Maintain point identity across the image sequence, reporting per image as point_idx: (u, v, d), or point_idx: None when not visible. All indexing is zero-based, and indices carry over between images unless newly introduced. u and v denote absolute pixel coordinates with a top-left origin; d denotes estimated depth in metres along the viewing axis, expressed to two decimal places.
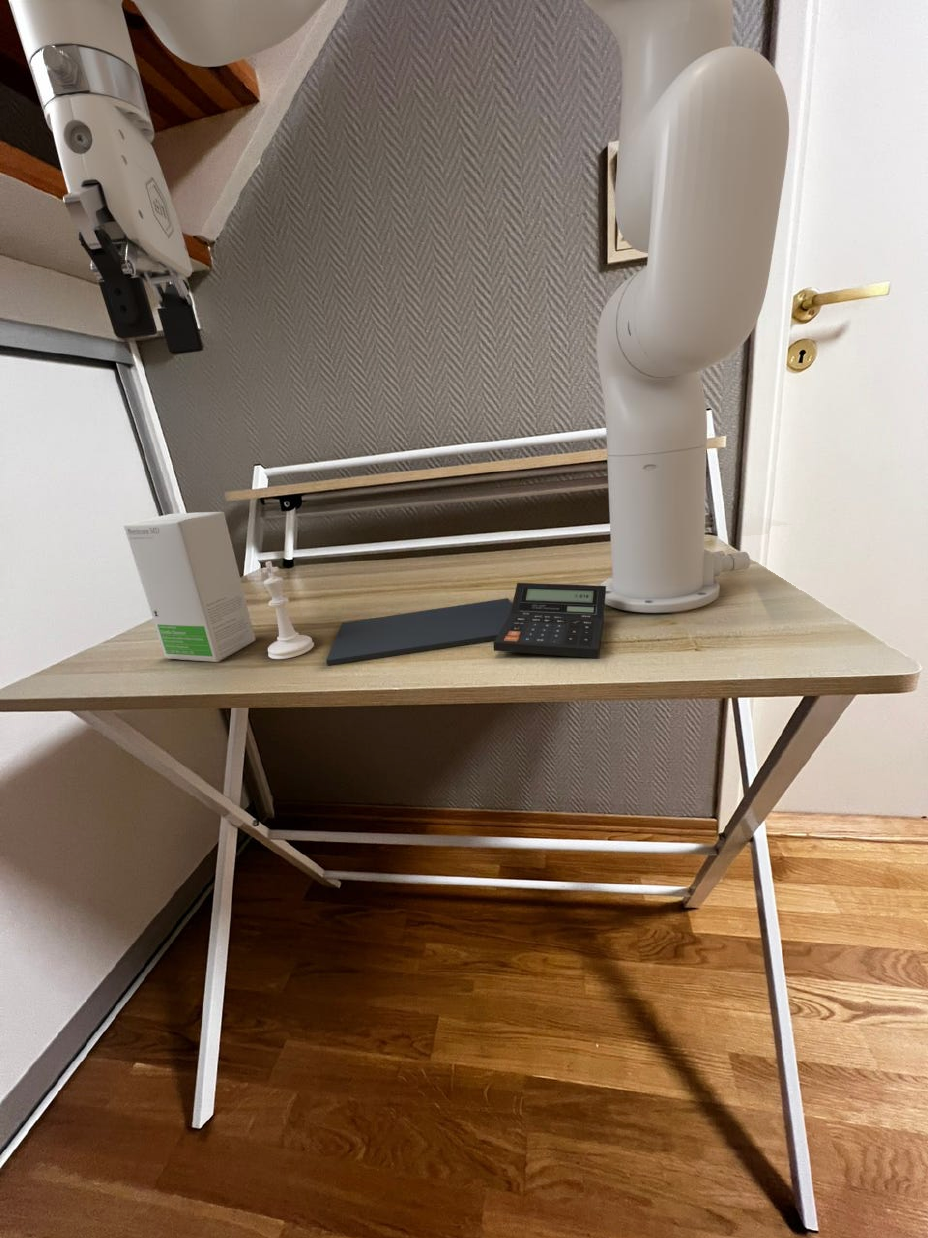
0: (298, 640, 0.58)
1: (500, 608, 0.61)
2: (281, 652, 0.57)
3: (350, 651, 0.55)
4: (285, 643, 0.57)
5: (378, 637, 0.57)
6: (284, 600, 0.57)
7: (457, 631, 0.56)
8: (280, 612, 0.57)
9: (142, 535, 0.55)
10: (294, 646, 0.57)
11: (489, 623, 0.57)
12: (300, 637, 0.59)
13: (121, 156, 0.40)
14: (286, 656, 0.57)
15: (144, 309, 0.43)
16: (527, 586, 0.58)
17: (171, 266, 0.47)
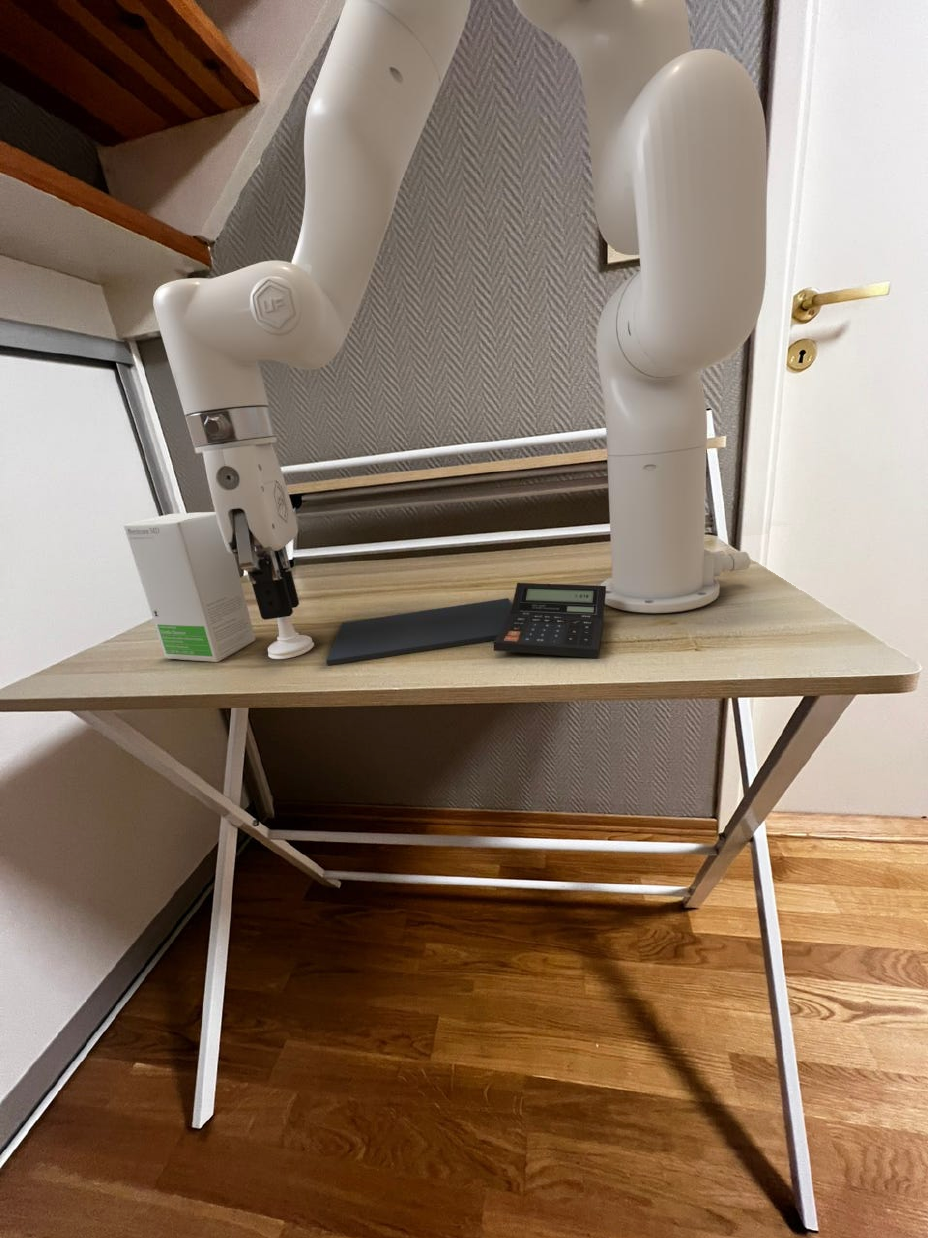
0: (298, 640, 0.58)
1: (500, 608, 0.61)
2: (281, 652, 0.57)
3: (350, 651, 0.55)
4: (285, 643, 0.57)
5: (378, 637, 0.57)
6: None
7: (457, 631, 0.56)
8: None
9: (142, 535, 0.55)
10: (294, 646, 0.57)
11: (489, 623, 0.57)
12: (300, 637, 0.59)
13: (260, 487, 0.49)
14: (286, 656, 0.57)
15: (285, 600, 0.55)
16: (527, 586, 0.58)
17: (287, 543, 0.55)
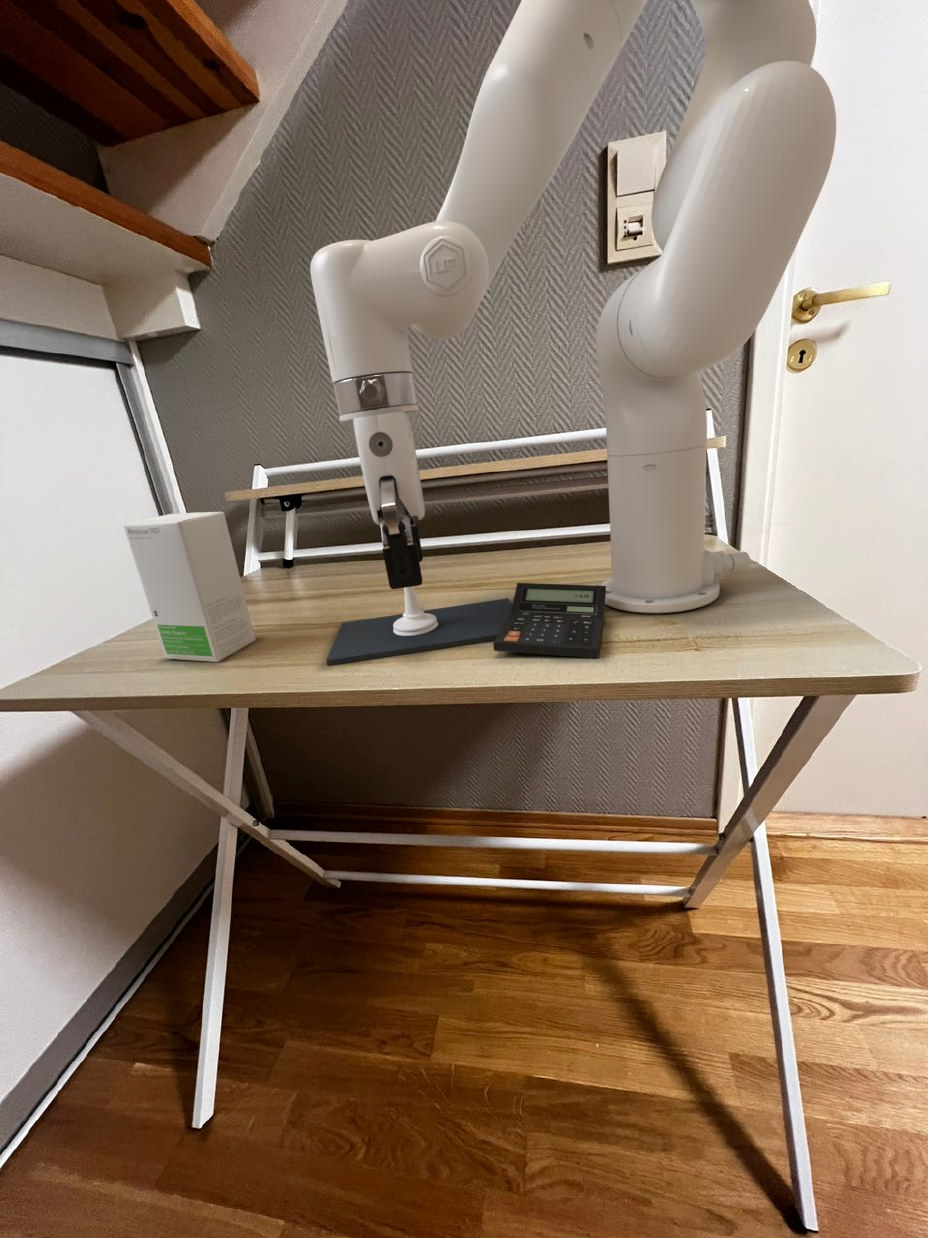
0: (425, 618, 0.58)
1: (500, 608, 0.61)
2: (411, 629, 0.56)
3: (350, 651, 0.55)
4: (413, 620, 0.57)
5: (378, 637, 0.57)
6: None
7: (457, 631, 0.56)
8: (409, 589, 0.57)
9: (142, 535, 0.55)
10: (423, 622, 0.57)
11: (489, 623, 0.57)
12: (425, 614, 0.58)
13: (411, 454, 0.48)
14: (416, 633, 0.56)
15: (416, 567, 0.51)
16: (527, 586, 0.58)
17: None
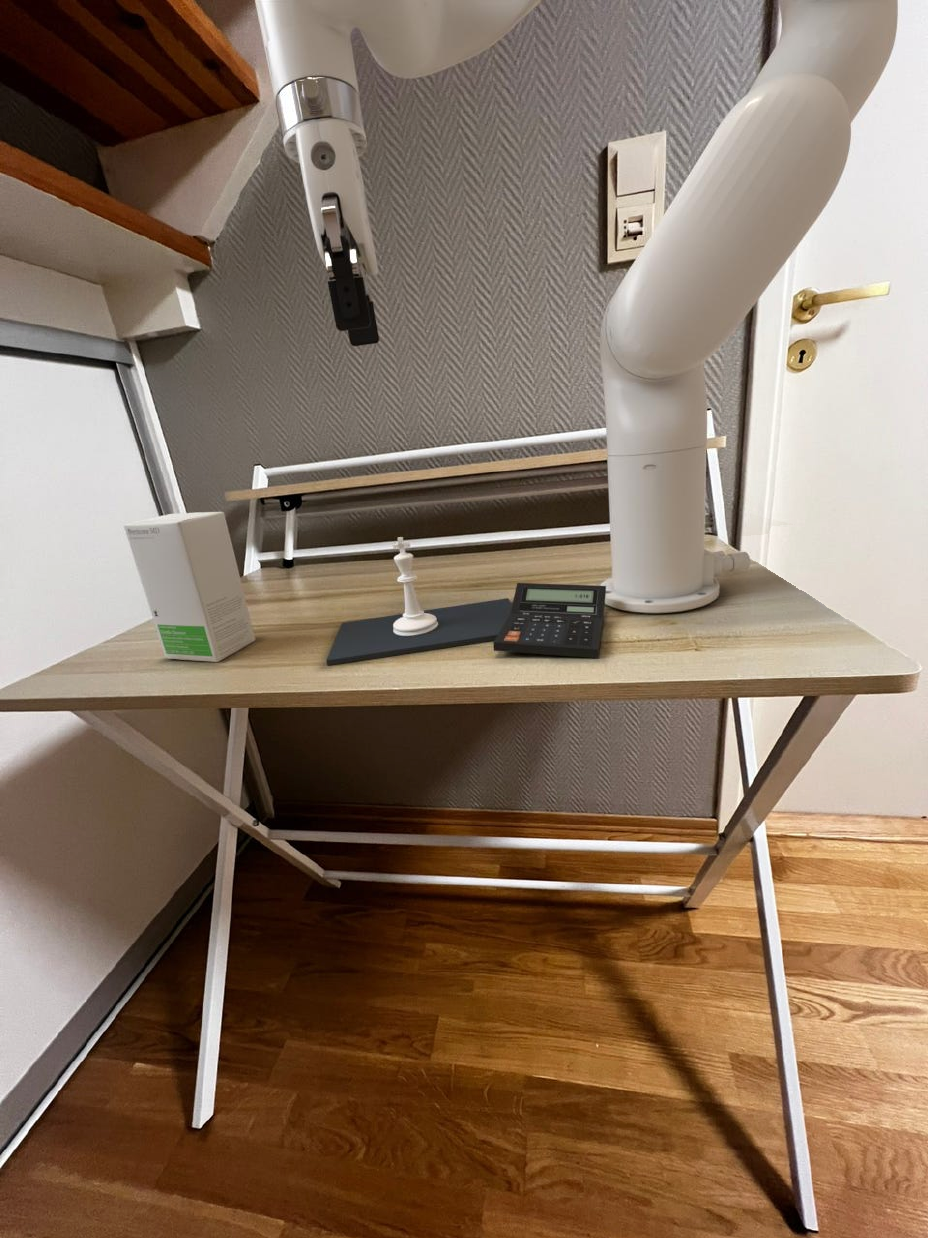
0: (425, 618, 0.58)
1: (500, 608, 0.61)
2: (411, 629, 0.56)
3: (350, 651, 0.55)
4: (413, 620, 0.57)
5: (378, 637, 0.57)
6: (414, 576, 0.56)
7: (457, 631, 0.56)
8: (409, 589, 0.57)
9: (142, 535, 0.55)
10: (423, 622, 0.57)
11: (489, 623, 0.57)
12: (425, 614, 0.58)
13: (355, 172, 0.47)
14: (416, 633, 0.56)
15: (364, 305, 0.49)
16: (527, 586, 0.58)
17: (373, 267, 0.53)
